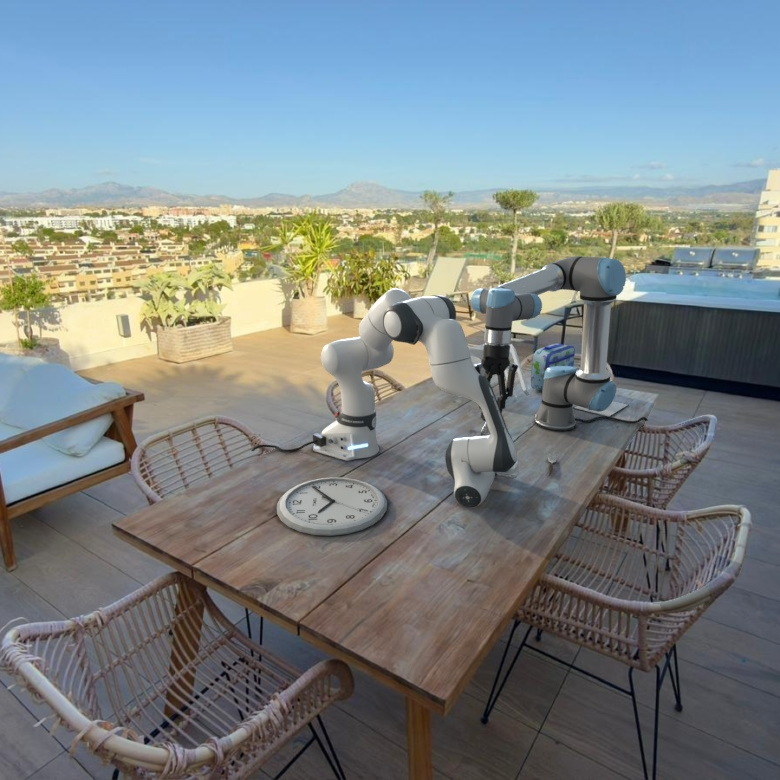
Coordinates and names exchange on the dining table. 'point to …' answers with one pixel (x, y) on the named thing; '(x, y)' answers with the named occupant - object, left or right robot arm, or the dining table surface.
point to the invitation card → (609, 411)
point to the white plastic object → (477, 357)
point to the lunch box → (550, 361)
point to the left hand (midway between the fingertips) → (488, 453)
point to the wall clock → (331, 506)
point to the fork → (551, 462)
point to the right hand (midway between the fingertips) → (491, 418)
